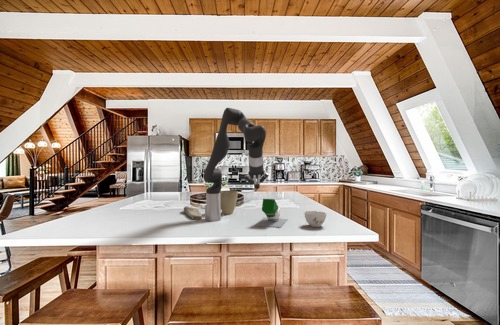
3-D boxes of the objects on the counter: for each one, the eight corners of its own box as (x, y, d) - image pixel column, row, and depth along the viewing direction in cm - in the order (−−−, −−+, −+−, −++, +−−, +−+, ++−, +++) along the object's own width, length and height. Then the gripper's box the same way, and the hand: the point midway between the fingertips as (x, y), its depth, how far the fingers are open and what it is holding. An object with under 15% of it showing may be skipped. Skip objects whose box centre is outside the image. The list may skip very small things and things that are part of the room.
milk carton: (261, 197, 158) (268, 208, 174) (260, 211, 153) (267, 221, 170) (276, 197, 155) (281, 208, 172) (274, 212, 151) (280, 222, 168)
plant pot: (214, 215, 185) (215, 192, 185) (220, 211, 200) (220, 190, 200) (235, 215, 183) (235, 193, 183) (239, 211, 198) (239, 190, 198)
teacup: (328, 229, 147) (328, 214, 147) (305, 228, 148) (305, 214, 148) (323, 222, 162) (323, 209, 162) (302, 222, 163) (302, 209, 163)
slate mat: (254, 225, 155) (254, 225, 155) (263, 218, 176) (263, 217, 176) (281, 227, 150) (281, 227, 150) (287, 219, 171) (287, 219, 171)
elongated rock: (190, 223, 168) (205, 222, 172) (190, 214, 168) (206, 214, 172) (181, 210, 200) (194, 210, 204) (181, 203, 200) (194, 203, 204)
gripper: (267, 156, 139) (267, 182, 148) (242, 159, 137) (244, 185, 147) (270, 164, 132) (270, 191, 142) (244, 167, 131) (245, 194, 141)
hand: (256, 188), depth 144 cm, fingers closed
